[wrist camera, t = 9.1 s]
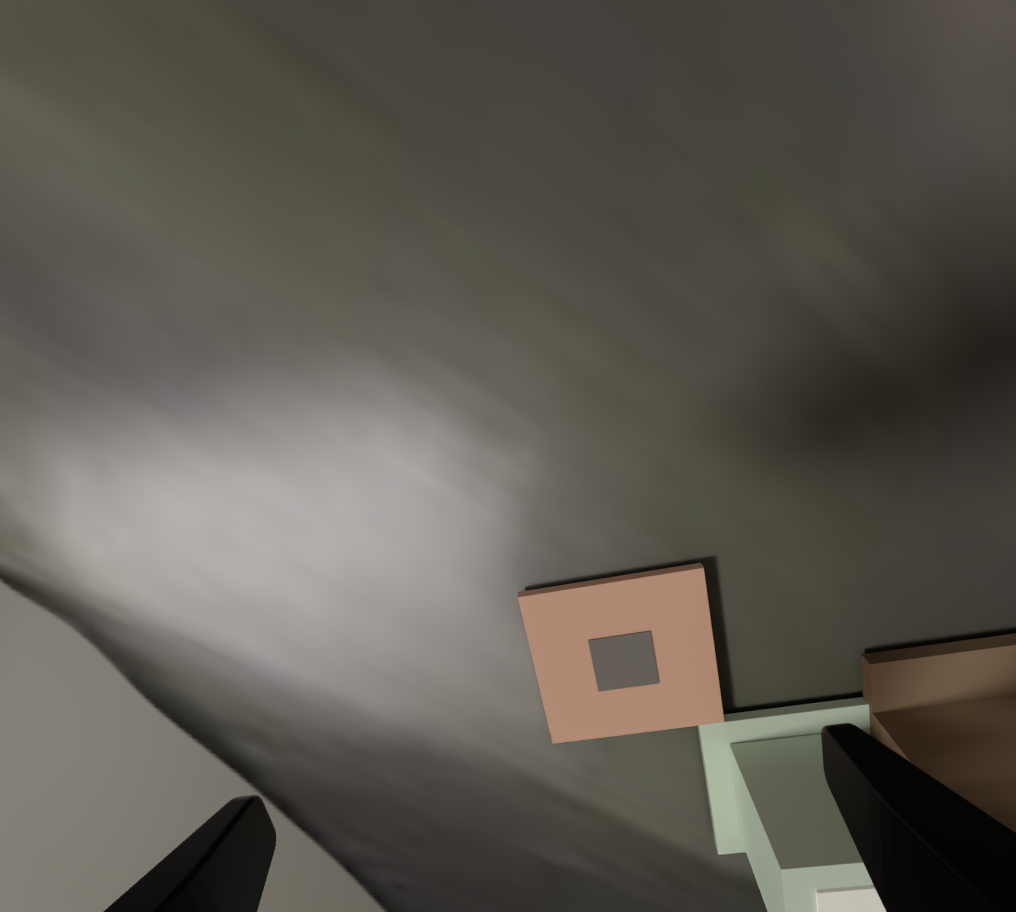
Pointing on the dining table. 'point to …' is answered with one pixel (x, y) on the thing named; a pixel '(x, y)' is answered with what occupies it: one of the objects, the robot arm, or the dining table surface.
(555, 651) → the terracotta pad
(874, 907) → the sage block
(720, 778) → the sage pad
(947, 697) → the walnut screen
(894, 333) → the dining table surface
